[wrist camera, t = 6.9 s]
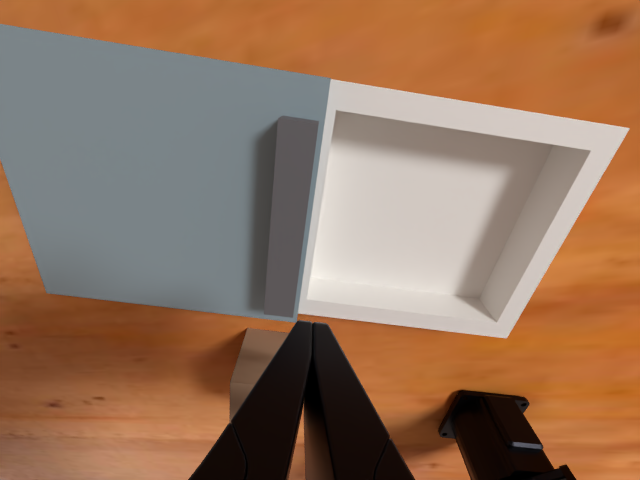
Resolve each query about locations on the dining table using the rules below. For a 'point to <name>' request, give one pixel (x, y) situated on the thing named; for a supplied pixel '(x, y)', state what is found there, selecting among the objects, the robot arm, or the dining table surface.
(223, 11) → the dining table surface
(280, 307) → the sliding cover
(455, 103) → the white sliding-lid box
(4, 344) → the dining table surface
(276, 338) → the walnut block
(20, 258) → the dining table surface
